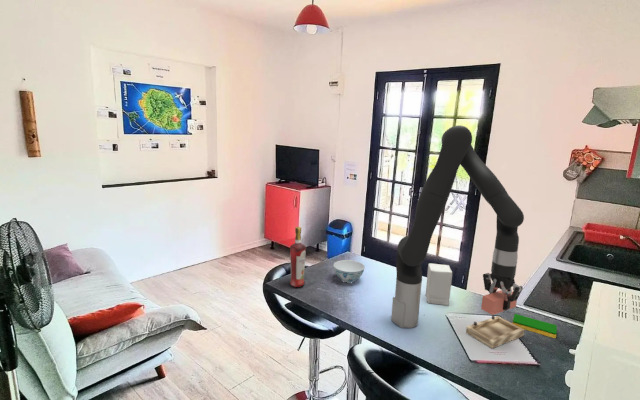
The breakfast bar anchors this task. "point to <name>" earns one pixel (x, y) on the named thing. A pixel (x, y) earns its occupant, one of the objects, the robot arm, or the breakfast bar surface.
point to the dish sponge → (535, 325)
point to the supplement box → (438, 284)
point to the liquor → (297, 260)
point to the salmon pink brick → (495, 302)
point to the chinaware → (348, 270)
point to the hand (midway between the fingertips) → (498, 306)
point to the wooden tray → (494, 331)
